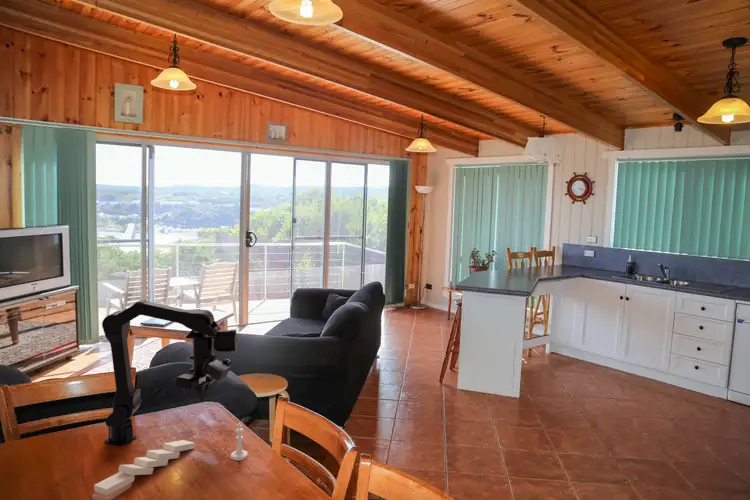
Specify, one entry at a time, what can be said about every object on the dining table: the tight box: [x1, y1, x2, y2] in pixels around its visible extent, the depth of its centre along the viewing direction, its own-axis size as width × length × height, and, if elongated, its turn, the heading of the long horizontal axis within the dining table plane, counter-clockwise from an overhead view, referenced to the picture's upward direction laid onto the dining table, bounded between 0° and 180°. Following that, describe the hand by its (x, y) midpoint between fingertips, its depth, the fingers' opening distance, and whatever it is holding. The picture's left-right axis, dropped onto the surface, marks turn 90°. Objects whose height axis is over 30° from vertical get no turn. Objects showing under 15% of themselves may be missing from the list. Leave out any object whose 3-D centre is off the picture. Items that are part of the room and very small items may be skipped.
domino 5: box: [145, 448, 181, 460], centre depth 148 cm, size 4×2×8 cm
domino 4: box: [133, 456, 170, 468], centre depth 143 cm, size 4×2×8 cm
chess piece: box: [230, 422, 249, 461], centre depth 152 cm, size 5×5×10 cm
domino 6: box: [162, 439, 196, 452], centre depth 154 cm, size 4×2×8 cm
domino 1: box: [93, 471, 135, 496], centre depth 133 cm, size 4×2×8 cm
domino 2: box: [91, 482, 133, 500], centre depth 132 cm, size 4×2×8 cm
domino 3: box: [117, 464, 155, 476], centre depth 138 cm, size 4×2×8 cm
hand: (202, 401), depth 162 cm, fingers closed
